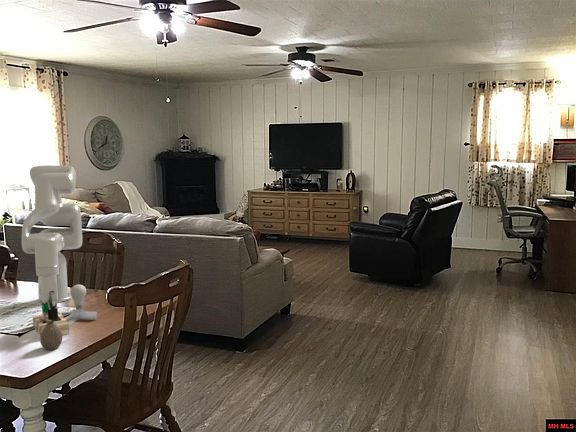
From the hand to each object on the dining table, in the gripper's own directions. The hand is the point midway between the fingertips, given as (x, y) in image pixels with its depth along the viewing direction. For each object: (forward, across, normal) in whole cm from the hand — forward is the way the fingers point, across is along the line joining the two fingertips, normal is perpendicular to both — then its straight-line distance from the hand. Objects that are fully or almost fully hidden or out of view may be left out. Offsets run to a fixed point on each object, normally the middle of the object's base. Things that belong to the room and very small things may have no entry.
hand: (50, 315), depth 187 cm
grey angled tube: (+5, -5, +11) cm, 14 cm away
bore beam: (+5, 0, 0) cm, 5 cm away
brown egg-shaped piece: (+6, +18, -4) cm, 19 cm away
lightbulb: (+6, -17, +14) cm, 23 cm away
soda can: (+6, 0, 0) cm, 6 cm away
